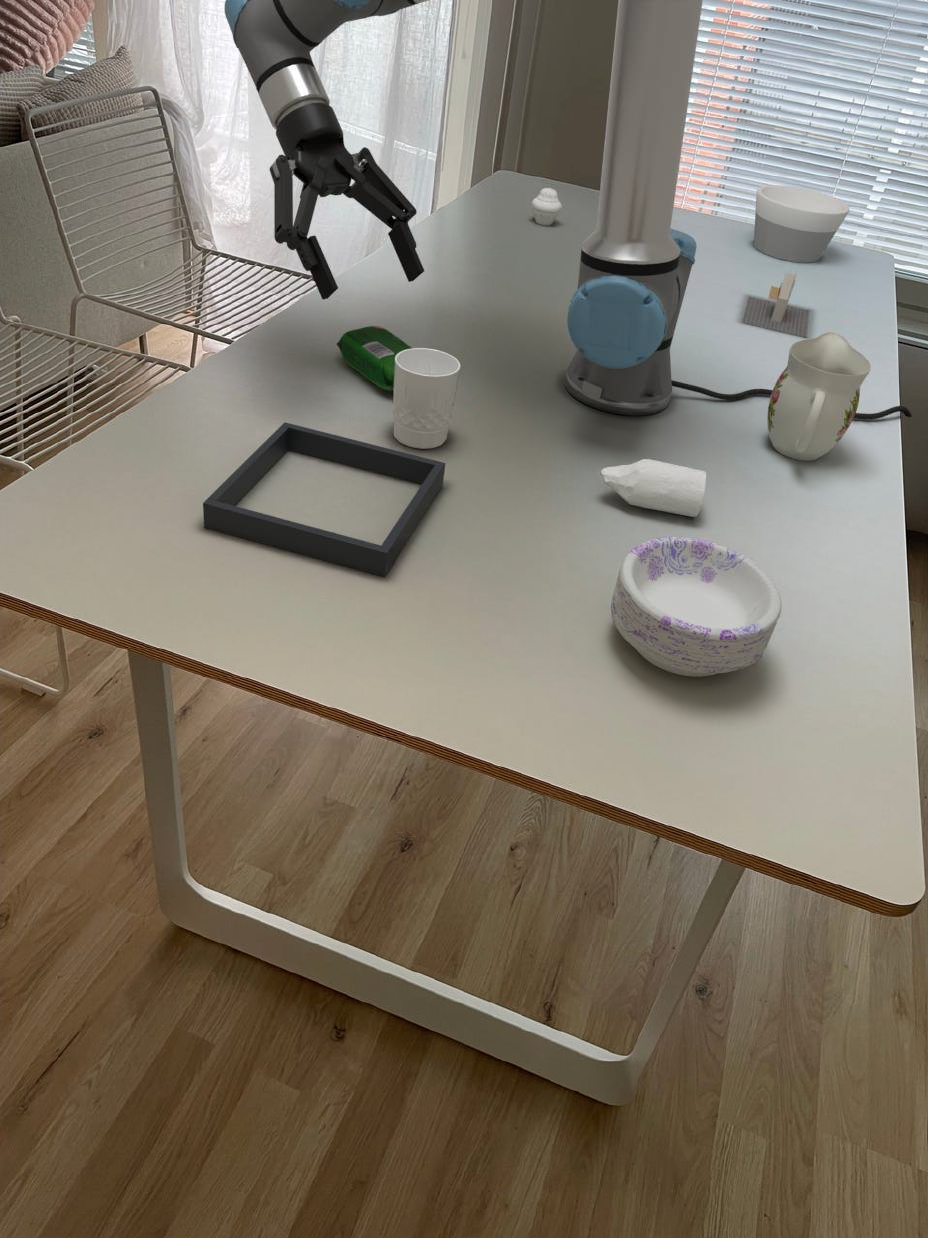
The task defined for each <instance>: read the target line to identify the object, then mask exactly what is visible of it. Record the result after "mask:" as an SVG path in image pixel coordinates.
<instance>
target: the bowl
mask: <svg viewBox="0 0 928 1238" xmlns="http://www.w3.org/2000/svg"><path fill="white" fill-rule="evenodd" d="M754 211H755V212H754V213H755V216H754V231H753V232H754V234H753V247H754V248H755V249H756V250H758V251H759V252H760V253H763V254H765V255H766V256H769V257H772V258H775V259H779V260H782V261H788V262H794V263H805V264H807V263H815V262H818V261H819V260H820V259H821V258H822V255H823V254H824V253H825V251H826V249H827V247H828V246H829V244H830V243H831V241H832V239H833V238H834V236H835V235H836V233H837V231H838V230H839V229H840V227H841V225H842V224H843V223H844V221H845V219H846V217H847V216H848V214H849V212H850V211H851V210H850V206H849V205H848V204H847V203H846V202H845V201H842V200H841V199H839V198H836V197H835V196H831V195H830V194H826V193H823V192H820V191H816V190H813V189H807V188H804V187H803V188H802V187H799V186H791V185H780V184H775V185H774V184H770V185H762V186H759V187H758V188H757V189H756V195H755V210H754Z"/></svg>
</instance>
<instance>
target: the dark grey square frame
mask: <svg viewBox="0 0 928 1238" xmlns="http://www.w3.org/2000/svg"><path fill="white" fill-rule="evenodd" d="M288 451H292V452H295V453H299V454H302V455H306V456H311V457H315V458H318V459H322V460H326V461H330V462H334V463H337V464H342V465H345V466H349V467H353V468H356V469H361V470H365V471H369V472H373V473H375V474H382V475H384V476H389V477H392V478H396V479H400V480H402V481H403V480H404V481H408V482H412V483H416V484H419V485H421V486H420V487H419V489H418V490H416V491H417V492H416V493H415V494H414V495H413V497H412V499H411V500H410V501H409V504H408V505H407V507H406V508H405V510H404V511H403V513H402V514H401V516H399V518H398V520H397V521H396V523H395V525H394V526H393V527H392V529H391V531H389V533H388V535H387V536H386V538H385V540H383V542H382V544H377V543H374V542H369V541H366V540H362V539H359V538H355V537H351V536H348V535H344V534H340V533H337V532H332V531H329V530H325V529H321V528H317V527H314V526H311V525H307V524H304V523H303V524H302V523H299V522H296V521H292V520H288V519H284V518H280V517H278V516H273V515H270V514H266V513H263V512H258V511H255V510H251V509H247V508H243V507H240V506H237V504H238V503H239V502H240V501H241V500H242V499H243V498H244V497H245V496H246V495H247V494H248V493H249V492H250V491H251V490H252V489H253V488H254V487H255V486H256V485H257V483H258V482H260V480H261V479H262V478H263V477H264V476H265V475H266V474H267V473H268V472H269V471H270V470H271V469H272V468H273V466H274V465H275V464H277V462H278V461H279V460H280V459H282V457H283V456H284V455H285V454H286V453H287V452H288ZM445 470H446V462H442V461H440V460H435V459H431V458H427V457H423V456H420V455H415V454H411V453H407V452H403V451H400V450H395V449H392V448H388V447H384V446H380V445H376V444H372V443H369V442H365V441H361V440H357V439H352V438H348V437H345V436H341V435H337V434H332V433H329V432H325V431H322V430H317V429H313V428H309V427H305V426H303V425H302V426H301V425H297V424H293V423H289V422H286V421H284V422H283V423H282V424H281V425H280V426H279V427H278V428H277V429H276V430H275V431H274V432H273V433H272V434H271V435H270V436H268V438H267V439H266V440H265V441H264V442H263V443H261V445H260V446H259V447H258V448H257V449H256V450H255V451H254V452H253V453H252V454H251V455H250V456H249V457H248V458H247V459H245V461H244V462H242V463H241V465H240V466H238V468H237V469H235V471H233V473H232V474H230V476H229V477H227V478H226V479H225V481H223V483H221V485H219V486H218V487H217V488H216V489H215V490H214V491H213V493H211V494H210V495H209V496H208V498H206V499H205V500H204V501H203V502H202V512H203V514H202V515H203V527H204V528H206V529H210V530H213V531H216V532H221V533H225V534H227V535H231V536H235V537H239V538H243V539H245V540H250V541H253V542H257V543H260V544H264V545H268V546H271V547H275V548H278V549H283V550H286V551H290V552H292V553H297V554H300V555H304V556H308V557H311V558H315V559H318V560H322V561H325V562H330V563H333V564H337V565H340V566H344V567H347V568H351V569H355V570H359V571H362V572H366V573H370V574H372V575H373V574H374V575H377V576H380V577H384V578H385V577H386V576H387V575H388V573H389V571H390V569H391V568H392V566H393V565H394V564H395V562H396V560H397V559H398V557H399V556H400V554H401V552H402V551H403V549H404V548H405V546H406V544H407V543H408V541H409V539H410V538H411V536H412V535H413V533H414V532H415V530H416V528H417V527H418V525H419V523H421V521H422V519H423V518H424V516H425V514H426V513H427V511H428V509H429V508H430V506H431V505H432V503H433V502H434V500H435V498H436V497H437V495H438V493H439V492H440V490H442V487H443V485H444V480H445V479H444V478H445V472H446V471H445Z"/></svg>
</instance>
